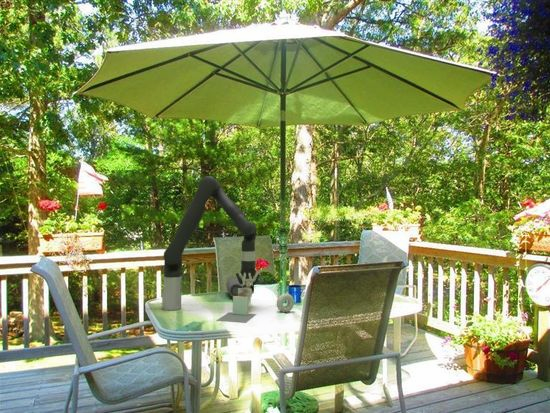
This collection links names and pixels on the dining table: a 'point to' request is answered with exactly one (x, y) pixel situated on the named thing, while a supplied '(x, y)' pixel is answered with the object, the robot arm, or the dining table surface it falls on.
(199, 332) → the dining table surface
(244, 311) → the tile
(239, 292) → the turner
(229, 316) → the mat
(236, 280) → the bluetooth speaker
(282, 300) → the donut
